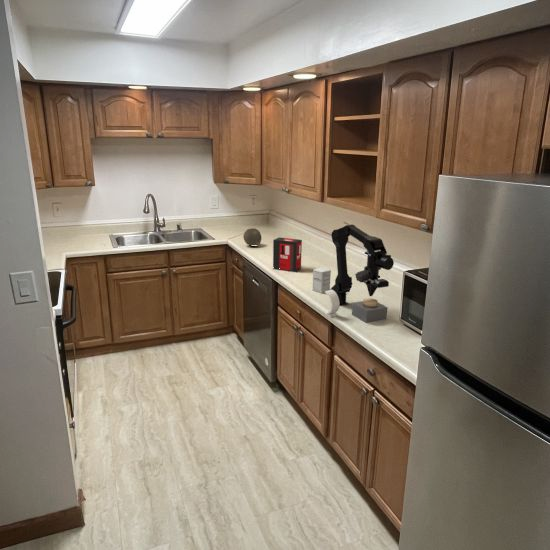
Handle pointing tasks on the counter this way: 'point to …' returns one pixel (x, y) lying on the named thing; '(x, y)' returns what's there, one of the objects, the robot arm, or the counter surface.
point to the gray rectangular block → (369, 312)
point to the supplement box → (321, 280)
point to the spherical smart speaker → (252, 236)
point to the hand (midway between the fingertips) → (370, 296)
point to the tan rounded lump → (370, 302)
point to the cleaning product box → (287, 254)
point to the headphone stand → (332, 303)
